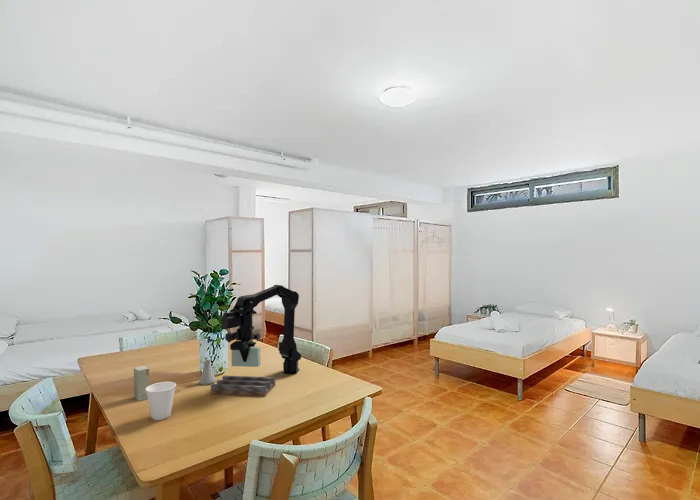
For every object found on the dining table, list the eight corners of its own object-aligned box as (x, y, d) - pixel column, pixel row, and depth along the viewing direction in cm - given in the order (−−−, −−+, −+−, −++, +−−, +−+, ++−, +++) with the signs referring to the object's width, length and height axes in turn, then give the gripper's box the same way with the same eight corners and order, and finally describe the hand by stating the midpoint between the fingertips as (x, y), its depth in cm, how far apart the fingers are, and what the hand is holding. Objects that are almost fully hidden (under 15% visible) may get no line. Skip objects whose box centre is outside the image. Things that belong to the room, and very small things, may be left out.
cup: (157, 410, 137) (156, 381, 137) (182, 411, 136) (181, 381, 136) (139, 422, 127) (138, 391, 127) (166, 423, 126) (165, 392, 126)
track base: (275, 385, 162) (275, 377, 162) (265, 395, 150) (265, 387, 150) (224, 383, 165) (224, 375, 165) (210, 393, 153) (210, 385, 153)
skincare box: (150, 398, 148) (150, 368, 148) (138, 401, 145) (138, 370, 145) (145, 393, 153) (145, 364, 153) (133, 397, 150) (133, 367, 150)
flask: (210, 385, 161) (209, 363, 161) (195, 384, 163) (195, 362, 163) (219, 380, 168) (218, 358, 168) (204, 379, 170) (204, 357, 170)
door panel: (260, 365, 160) (259, 346, 160) (258, 366, 158) (257, 348, 158) (234, 364, 162) (233, 346, 162) (231, 366, 159) (231, 347, 159)
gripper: (237, 320, 170) (237, 354, 170) (217, 329, 151) (218, 367, 151) (260, 321, 168) (260, 354, 169) (243, 330, 150) (244, 368, 150)
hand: (246, 360), depth 160 cm, fingers closed on door panel, 2 cm apart
